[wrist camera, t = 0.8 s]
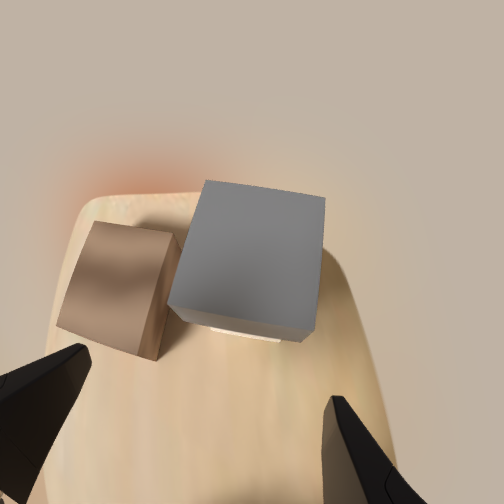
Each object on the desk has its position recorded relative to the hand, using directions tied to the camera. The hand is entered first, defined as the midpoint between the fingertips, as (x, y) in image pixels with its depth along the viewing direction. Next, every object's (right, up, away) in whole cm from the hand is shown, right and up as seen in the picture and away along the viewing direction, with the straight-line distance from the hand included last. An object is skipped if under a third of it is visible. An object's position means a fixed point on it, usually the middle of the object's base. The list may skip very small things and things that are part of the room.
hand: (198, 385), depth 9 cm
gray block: (+2, +3, +10) cm, 11 cm away
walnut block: (-9, 0, +16) cm, 18 cm away
